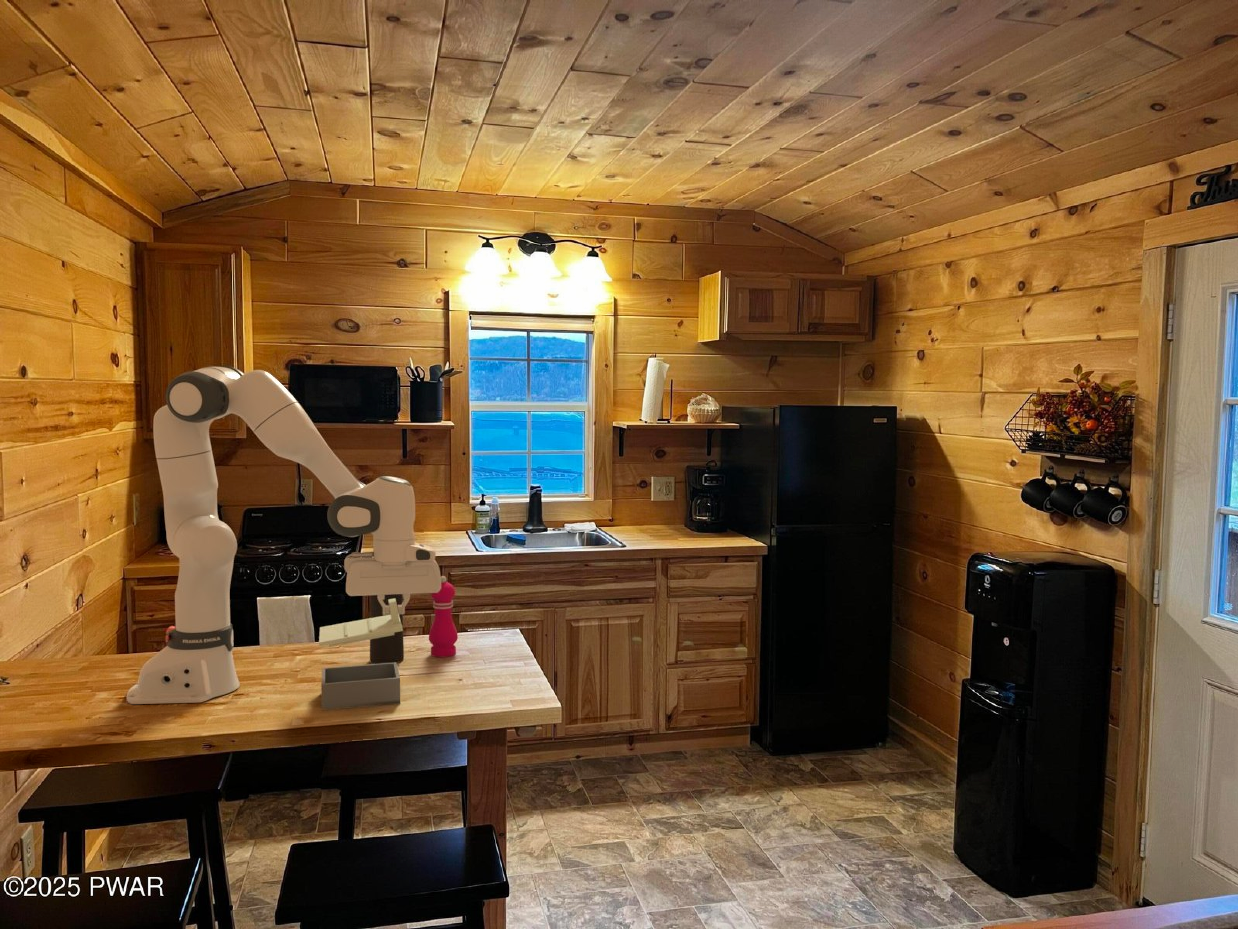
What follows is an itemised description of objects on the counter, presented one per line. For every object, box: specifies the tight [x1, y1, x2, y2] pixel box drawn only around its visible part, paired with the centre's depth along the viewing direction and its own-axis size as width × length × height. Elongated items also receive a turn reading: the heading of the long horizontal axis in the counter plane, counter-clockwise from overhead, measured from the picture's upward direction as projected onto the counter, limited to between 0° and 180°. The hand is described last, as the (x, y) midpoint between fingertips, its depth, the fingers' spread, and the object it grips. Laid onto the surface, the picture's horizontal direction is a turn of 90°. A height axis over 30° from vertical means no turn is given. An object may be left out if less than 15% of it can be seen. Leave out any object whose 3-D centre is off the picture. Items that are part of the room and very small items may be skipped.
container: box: [369, 594, 405, 664], centre depth 228 cm, size 9×9×20 cm
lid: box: [318, 598, 404, 648], centre depth 200 cm, size 17×13×6 cm
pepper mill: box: [428, 575, 459, 658], centre depth 234 cm, size 7×7×20 cm
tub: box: [320, 662, 401, 711], centre depth 201 cm, size 16×12×6 cm
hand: (393, 614), depth 202 cm, fingers closed on lid
